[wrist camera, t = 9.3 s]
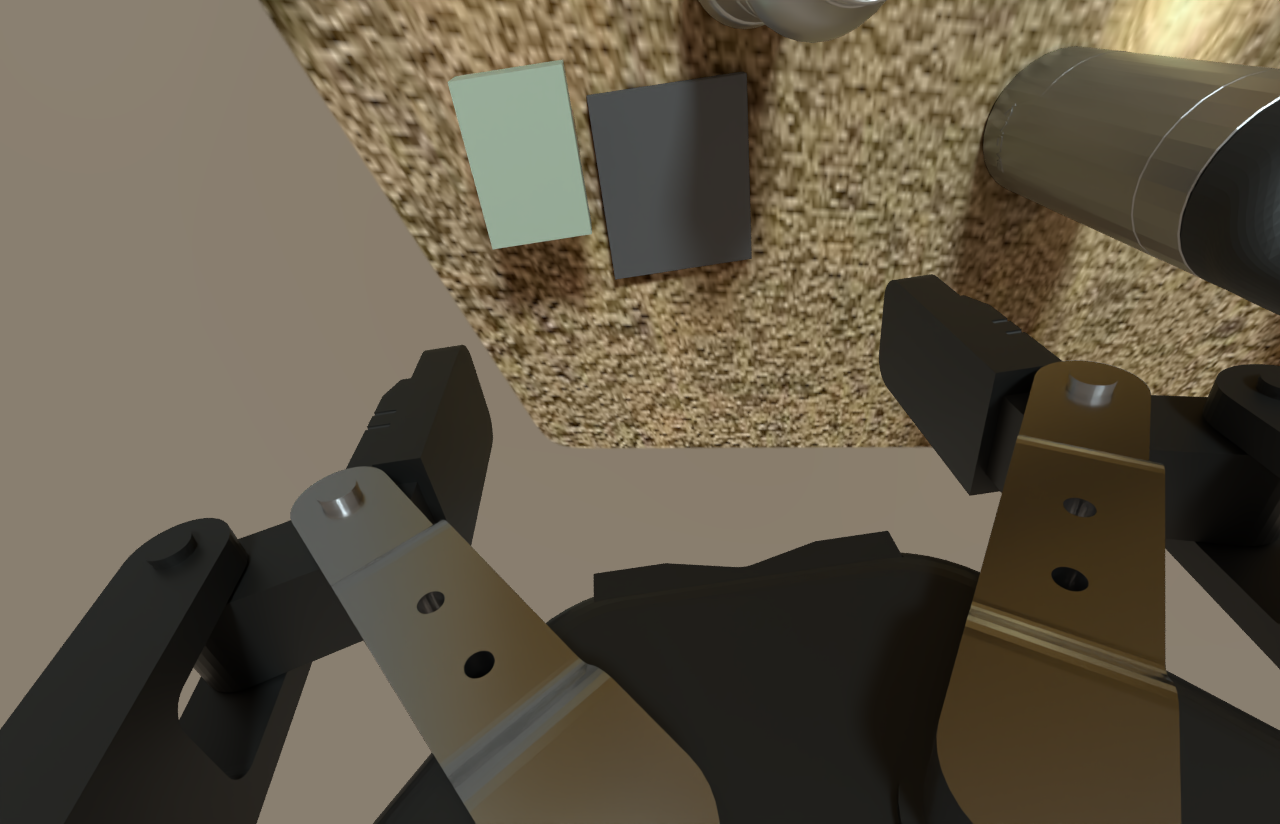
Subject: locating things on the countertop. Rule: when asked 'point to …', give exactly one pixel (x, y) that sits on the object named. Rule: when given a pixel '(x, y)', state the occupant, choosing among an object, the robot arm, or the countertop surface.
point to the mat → (674, 173)
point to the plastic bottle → (795, 16)
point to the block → (523, 153)
